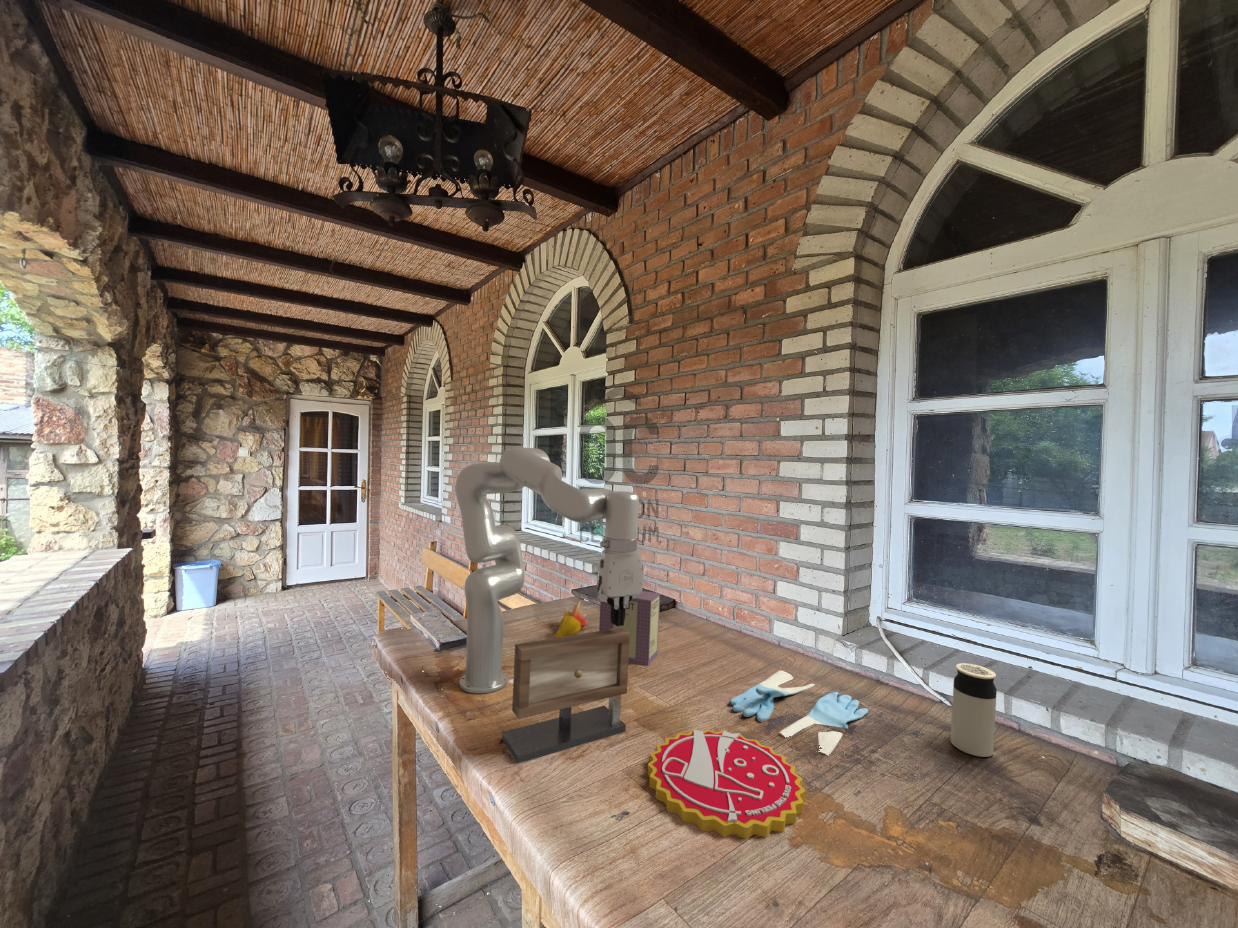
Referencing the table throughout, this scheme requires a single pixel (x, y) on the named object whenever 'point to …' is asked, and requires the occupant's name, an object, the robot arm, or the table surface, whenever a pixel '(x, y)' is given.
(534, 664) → the wooden drawer
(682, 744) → the decorative sign
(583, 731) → the pivot stand
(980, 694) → the travel mug
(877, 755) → the table surface
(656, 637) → the box
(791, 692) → the rubber gloves
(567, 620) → the torch
